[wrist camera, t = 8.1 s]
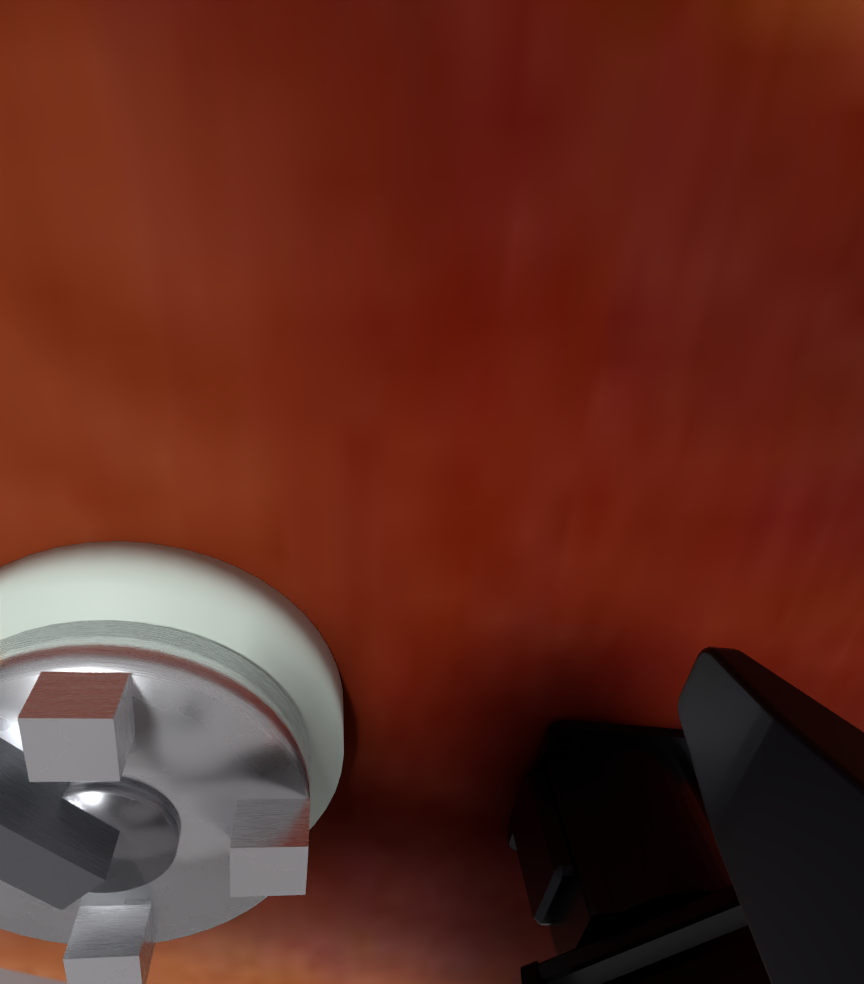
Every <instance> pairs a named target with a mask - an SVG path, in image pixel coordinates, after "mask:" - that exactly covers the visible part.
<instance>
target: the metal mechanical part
mask: <svg viewBox="0 0 864 984" xmlns="http://www.w3.org/2000/svg"><path fill="white" fill-rule="evenodd" d="M310 782H311V750H310V745H309V741H308V736H307V732H306V730H305V728H304V725H303V723H302V720H301V718H300V716H299V714H298V713H297V711H296V709H295V708H294V706H293V705H292V703H291V701H290V700H289V699H288V697H287V696H286V695H285V694H284V693H283V692H282V690H281V689H280V688H279V687H278V686H277V685H276V684H275V683H274V682H273V681H272V680H271V679H270V678H269V677H267V676H266V675H265V674H264V673H263V672H262V671H261V670H260V669H258V668H257V667H255V666H254V665H252V664H251V663H249V662H248V661H246V660H245V659H243V658H242V657H241V656H239V655H237V654H235V653H233V652H231V651H229V650H227V649H226V648H224V647H222V646H220V645H218V644H216V643H213V642H211V641H208V640H205V639H203V638H200V637H198V636H195V635H193V634H189V633H186V632H182V631H178V630H175V629H171V628H168V627H163V626H157V625H152V624H146V623H140V622H130V621H117V620H87V621H74V622H66V623H58V624H51V625H47V626H43V627H39V628H34V629H30V630H26V631H23V632H20V633H18V634H15V635H12V636H9V637H7V638H4V639H1V640H0V929H4V930H7V931H10V932H13V933H17V934H20V935H24V936H28V937H32V938H37V939H41V940H46V941H52V942H59V943H66V944H68V945H67V948H66V952H65V955H64V958H63V962H64V967H65V972H66V977H67V983H68V984H146V982H147V978H148V973H149V968H150V964H151V959H152V954H153V950H154V945H155V943H154V942H161V941H167V940H172V939H176V938H180V937H184V936H188V935H192V934H195V933H198V932H201V931H204V930H207V929H210V928H213V927H215V926H218V925H220V924H222V923H225V922H227V921H229V920H231V919H233V918H235V917H237V916H239V915H241V914H242V913H244V912H246V911H248V910H249V909H251V908H252V907H254V906H255V905H257V904H258V903H259V902H261V901H262V900H264V899H265V898H266V897H267V896H280V895H305V894H306V878H307V862H308V846H309V821H310Z"/></svg>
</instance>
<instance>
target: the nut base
mask: <svg viewBox="0 0 864 984" xmlns="http://www.w3.org/2000/svg"><path fill="white" fill-rule="evenodd" d="M87 620H117V621H130V622H140V623H146V624H152V625H157V626H163V627H168V628H171V629H175V630H178V631H182V632H186V633H189V634H193V635H195V636H198V637H200V638H203V639H205V640H208V641H211V642H213V643H216V644H218V645H220V646H222V647H224V648H226V649H227V650H229V651H231V652H233V653H235V654H237V655H239V656H241V657H242V658H243V659H245V660H246V661H248V662H249V663H251V664H252V665H254V666H255V667H257V668H258V669H260V670H261V671H262V672H263V673H264V674H265V675H266V676H267V677H269V678H270V679H271V680H272V681H273V682H274V683H275V684H276V685H277V686H278V687H279V688H280V689H281V690H282V692H283V693H284V694H285V695H286V696H287V697H288V699H289V700H290V701H291V703H292V705H293V706H294V708H295V709H296V711H297V713H298V714H299V716H300V718H301V720H302V723H303V725H304V728H305V730H306V732H307V736H308V741H309V745H310V750H311V782H310V821H309V830H310V829H311V828H312V827H313V826H314V825H315V823H316V822H317V821H318V819H319V818H320V817H321V815H322V814H323V812H324V811H325V810H326V808H327V806H328V805H329V803H330V801H331V799H332V797H333V795H334V793H335V791H336V788H337V785H338V782H339V779H340V775H341V772H342V764H343V756H344V716H343V689H342V684H341V680H340V675H339V671H338V668H337V665H336V663H335V660H334V658H333V656H332V653H331V651H330V649H329V647H328V646H327V644H326V642H325V641H324V639H323V637H322V636H321V634H320V633H319V631H318V630H317V629H316V627H315V626H314V625H313V624H312V623H311V621H310V620H309V619H308V618H307V617H306V615H305V614H304V613H303V612H302V611H301V610H300V609H298V608H297V607H296V606H295V605H294V604H293V603H292V602H291V601H290V600H289V599H287V598H286V597H285V596H284V595H282V594H281V593H280V592H278V591H277V590H275V589H274V588H272V587H271V586H270V585H268V584H267V583H265V582H264V581H262V580H260V579H259V578H257V577H255V576H253V575H251V574H249V573H247V572H246V571H244V570H242V569H240V568H238V567H236V566H233V565H231V564H228V563H226V562H223V561H221V560H218V559H216V558H213V557H210V556H207V555H203V554H200V553H196V552H193V551H189V550H185V549H182V548H176V547H170V546H165V545H159V544H153V543H140V542H125V541H111V542H88V543H81V544H75V545H68V546H62V547H56V548H53V549H49V550H45V551H42V552H38V553H35V554H31V555H28V556H25V557H23V558H21V559H18V560H16V561H13V562H11V563H8V564H6V565H4V566H2V567H0V640H1V639H4V638H7V637H9V636H12V635H15V634H18V633H20V632H23V631H26V630H30V629H34V628H39V627H43V626H47V625H51V624H58V623H66V622H74V621H87Z"/></svg>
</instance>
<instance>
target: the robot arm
mask: <svg viewBox="0 0 864 984" xmlns="http://www.w3.org/2000/svg"><path fill="white" fill-rule="evenodd" d="M678 712H679V718H680V722H681V725H682V729H683V730H681V729H668V728H655V727H643V726H630V725H618V724H605V723H593V722H580V721H568V720H561V721H557V722H554V723H553V724H551V725H550V726H549V728H548V729H547V732H546V734H545V737H544V739H543V742H542V745H541V747H540V750H539V752H538V755H537V758H536V760H535V763H534V765H533V768H532V769H531V770H530V771H529V772H528V773H527V774H526V776H525V779H524V782H523V784H522V787H521V789H520V792H519V795H518V797H517V800H516V802H515V805H514V808H513V810H512V813H511V815H510V823H511V825H510V827H509V830H508V832H507V838H508V842H509V846H510V847H511V848H512V849H513V850H517V852H518V857H519V861H520V865H521V869H522V873H523V878H524V882H525V886H526V890H527V894H528V899H529V903H530V907H531V911H532V915H533V918H534V919H535V920H536V922H537V923H538V924H539V925H549V929H550V933H551V937H552V941H553V944H554V948H555V952H556V957H553V958H551V959H548V960H546V961H544V962H541V963H538V962H537V961H535V962H532V963H530V964H527V965H525V966H523V967H521V980H522V984H864V732H862V731H861V730H859V729H858V728H856V727H855V726H853V725H852V724H850V723H849V722H847V721H846V720H844V719H843V718H841V717H840V716H838V715H837V714H835V713H833V712H832V711H830V710H829V709H827V708H826V707H824V706H823V705H821V704H820V703H818V702H817V701H815V700H814V699H812V698H811V697H809V696H808V695H806V694H805V693H803V692H802V691H800V690H799V689H797V688H796V687H794V686H793V685H791V684H790V683H788V682H787V681H785V680H783V679H782V678H780V677H779V676H777V675H776V674H774V673H773V672H771V671H770V670H768V669H767V668H765V667H764V666H762V665H761V664H759V663H758V662H756V661H755V660H753V659H752V658H750V657H749V656H747V655H746V654H744V653H743V652H741V651H739V650H736V649H730V648H717V647H708V648H705V649H703V650H702V651H701V652H700V653H699V655H698V656H697V658H696V661H695V663H694V665H693V667H692V670H691V672H690V674H689V676H688V678H687V681H686V683H685V685H684V687H683V690H682V692H681V694H680V697H679V702H678ZM561 734H564V735H561ZM560 735H561V736H560Z"/></svg>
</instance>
